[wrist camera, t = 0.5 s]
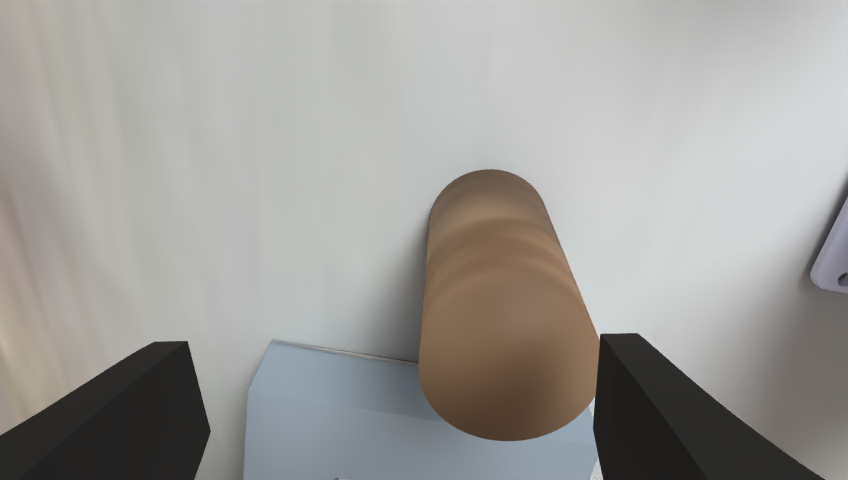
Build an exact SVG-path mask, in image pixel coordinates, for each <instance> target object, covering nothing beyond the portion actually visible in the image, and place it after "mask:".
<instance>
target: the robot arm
mask: <svg viewBox="0 0 848 480" xmlns="http://www.w3.org/2000/svg"><path fill="white" fill-rule="evenodd" d="M844 273H847V275H846V277H845V278H844V279H842V280H840V281H838V278H839V277H840V276H841V275H842V274H844ZM810 278H811V280H812V281H813V283H814V284H816V285H817V286H818V287H819V288H822V289H825V290H831V291H837V292H842V293H848V197H847V199H846V201H845V203H844V205H843V207H842V209H841V211H840V213H839V215H838V217H837V219H836V221H835V223H834V225H833V227H832V229H831V231H830V233H829V235H828V237H827V239H826V241H825V243H824V245H823V247H822V249H821V251H820V253H819V255H818V257H817V259H816V261H815V263H814V265H813V267H812V270H811V273H810ZM210 432H211V431H210V427H209V423H208V419H207V415H206V411H205V408H204V404H203V400H202V396H201V392H200V388H199V384H198V380H197V376H196V372H195V369H194V365H193V361H192V357H191V353H190V349H189V345H188V341H171V342H153V343H151V344H149V345H147V346H145V347H143V348H142V349H140V350H138V351H136V352H135V353H133V354H131V355H130V356H128V357H126V358H125V359H123V360H121V361H120V362H118V363H117V364H115V365H113V366H112V367H110V368H109V369H107V370H105V371H104V372H102V373H101V374H99V375H98V376H96V377H94V378H93V379H91V380H90V381H88V382H87V383H85V384H83V385H82V386H80V387H79V388H77V389H76V390H74V391H72V392H71V393H69V394H68V395H66V396H65V397H63V398H61V399H60V400H58V401H57V402H55V403H54V404H52V405H50V406H49V407H47V408H46V409H44V410H42V411H41V412H39V413H38V414H36V415H34V416H33V417H31V418H29V419H27V420H26V421H24V422H22V423H21V424H19V425H17V426H16V427H14V428H12V429H11V430H9V431H7V432H6V433H4V434H2V435H1V436H0V480H194V478H195V476H196V473H197V470H198V467H199V465H200V462H201V459H202V456H203V453H204V450H205V447H206V444H207V441H208V438H209V435H210ZM593 432H594V437H595V442H596V447H597V452H598V457H599V462H600V466H601V471H602V475H603V480H825V479H823V478H822V477H820V476H819V475H817V474H815V473H814V472H812V471H811V470H809V469H808V468H806V467H805V466H803V465H802V464H800V463H799V462H798V461H796V460H795V459H793V458H792V457H790V456H789V455H787V454H786V453H785V452H783V451H782V450H781V449H779V448H778V447H776V446H775V445H774V444H772V443H771V442H770V441H768V440H767V439H766V438H764V437H763V436H761V435H760V434H759V433H757V432H756V431H755V430H753V429H752V428H751V427H749V426H748V425H747V424H745V423H744V422H743V421H741V420H740V419H739V418H738V417H736V416H735V415H734V414H732V413H731V412H730V411H729V410H727V409H726V408H725V407H724V406H722V405H721V404H720V403H719V402H717V401H716V400H715V399H714V398H713V397H711V396H710V395H709V394H708V393H707V392H705V391H704V390H703V389H702V388H701V387H699V386H698V385H697V384H696V383H695V382H693V381H692V380H691V379H690V378H689V377H688V376H686V375H685V374H684V373H683V372H682V371H681V370H679V369H678V368H677V367H676V366H675V365H674V364H673V363H671V362H670V361H669V360H668V359H667V358H666V357H665V356H663V355H662V354H661V353H660V352H659V351H658V350H657V349H655V348H654V347H653V346H652V345H651V344H650V343H648V342H647V341H646V340H645V339H644V338H643V337H641V336H640V335H639V334H638V333H626V334H601V335H600V347H599V359H598V371H597V383H596V396H595V408H594V420H593Z"/></svg>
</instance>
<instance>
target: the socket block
mask: <svg viewBox="0 0 848 480" xmlns="http://www.w3.org/2000/svg"><path fill="white" fill-rule="evenodd" d="M597 458H598V452H597V447H596V442H595V437H594V432H593V418H592V415H591V412H590V409H589V405H588V406H587V408H586V409H585V410H584V411H583V412H582V413H581V414H580V415H579V416H578V417H577V418H576V419H574V420H573V421H571V422H570V423H569V424H567V425H566V426H564V427H562V428H560V429H558V430H557V431H554V432H552V433H550V434H547V435H544V436H541V437H538V438H533V439H528V440H522V441H494V440H488V439H483V438H479V437H476V436H473V435H470V434H467V433H465V432H463V431H461V430H459V429H457V428H455V427H454V426H452V425H450V424H449V423H448V422H446V421H445V420H444V419H443V418H441V417H440V416H439V415H438V414H437V413H436V412H435V410H434V409H433V408H432V406H431V405H430V404H429V402H428V401H427V399H426V397H425V395H424V393H423V390H422V387H421V385H420V380H419V372H418V363H415V362H408V361H402V360H396V359H390V358H383V357H377V356H371V355H365V354H359V353H352V352H346V351H340V350H334V349H327V348H321V347H315V346H309V345H303V344H296V343H290V342H284V341H278V340H272V341H271V343H270V345H269V347H268V349H267V352H266V354H265V356H264V358H263V360H262V362H261V364H260V366H259V368H258V370H257V373H256V375H255V377H254V379H253V381H252V383H251V385H250V387H249V389H248V396H247V414H246V433H245V452H244V470H243V480H589V479H590V476H591V473H592V471H593V468H594V465H595V463H596V460H597Z"/></svg>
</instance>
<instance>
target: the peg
mask: <svg viewBox="0 0 848 480" xmlns="http://www.w3.org/2000/svg"><path fill="white" fill-rule="evenodd" d="M599 347H600V341H599V338H598V336H597V333H596V331H595V328H594V326H593V323H592V321H591V318H590V316H589V313H588V311H587V309H586V306H585V304H584V301H583V299H582V296H581V294H580V291H579V289H578V286H577V284H576V281H575V279H574V277H573V274H572V272H571V269H570V267H569V264H568V262H567V259H566V257H565V254H564V252H563V249H562V247H561V245H560V242H559V240H558V237H557V235H556V232H555V230H554V227H553V225H552V222H551V220H550V217H549V215H548V213H547V210H546V208H545V205H544V203H543V200H542V199H541V197H540V195H539V194H538V192H537V191H536V190H535V189H534V188H533V187H532V186H531V185H530V184H529V183H528V182H527V181H525V180H524V179H522V178H521V177H519V176H517V175H515V174H512V173H509V172H506V171H502V170H493V169H492V170H479V171H474V172H471V173H468V174H465V175H463V176H461V177H459V178H457V179H455V180H454V181H453V182H451V183H450V184H449V185H448V186H447V187H446V188H445V189H444V190H443V191H442V192H441V193H440V194H439V196H438V197H437V199H436V201H435V203H434V205H433V207H432V210H431V214H430V220H429V232H428V245H427V258H426V271H425V284H424V297H423V310H422V323H421V336H420V349H419V363H418V372H419V380H420V385H421V387H422V390H423V393H424V395H425V397H426V399H427V401H428V402H429V404H430V405H431V406H432V408H433V409H434V410H435V412H436V413H437V414H438V415H439V416H440V417H441V418H443V419H444V420H445V421H446V422H448V423H449V424H450V425H452V426H454V427H455V428H457V429H459V430H461V431H463V432H465V433H467V434H470V435H473V436H476V437H479V438H483V439H488V440H494V441H522V440H528V439H533V438H538V437H541V436H544V435H547V434H550V433H552V432H554V431H557V430H558V429H560V428H562V427H564V426H566V425H567V424H569V423H570V422H571V421H573V420H574V419H576V418H577V417H578V416H579V415H580V414H581V413H582V412H583V411H584V410H585V409H586V408H587V406H588V405H589V404H590V403H591V401H592V400H593V398H594V396H595V395H596V383H597V371H598V359H599Z"/></svg>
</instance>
